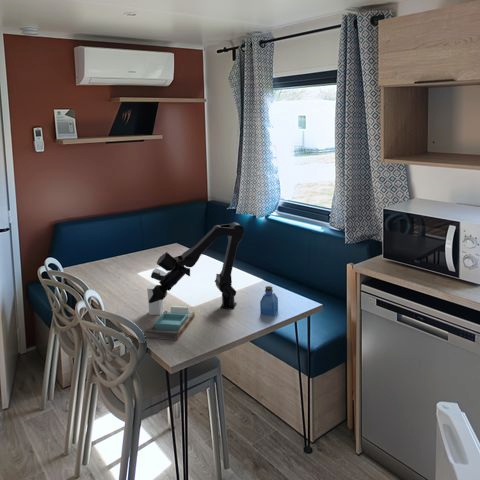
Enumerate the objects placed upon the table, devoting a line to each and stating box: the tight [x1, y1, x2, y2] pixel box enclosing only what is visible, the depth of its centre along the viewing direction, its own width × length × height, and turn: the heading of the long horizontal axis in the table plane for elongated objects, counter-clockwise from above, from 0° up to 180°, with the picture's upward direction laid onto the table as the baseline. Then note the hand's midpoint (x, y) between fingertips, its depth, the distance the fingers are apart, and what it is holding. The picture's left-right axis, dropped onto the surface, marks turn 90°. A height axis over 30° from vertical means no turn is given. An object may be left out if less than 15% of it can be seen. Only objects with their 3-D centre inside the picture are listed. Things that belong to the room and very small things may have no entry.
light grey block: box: [146, 284, 164, 316], centre depth 230 cm, size 5×5×12 cm
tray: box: [153, 305, 192, 331], centre depth 219 cm, size 17×11×4 cm, turn 168°
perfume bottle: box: [259, 285, 279, 317], centre depth 226 cm, size 6×6×12 cm
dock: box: [144, 310, 196, 341], centre depth 216 cm, size 24×14×3 cm, turn 168°
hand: (152, 298), depth 230 cm, fingers open, 9 cm apart
